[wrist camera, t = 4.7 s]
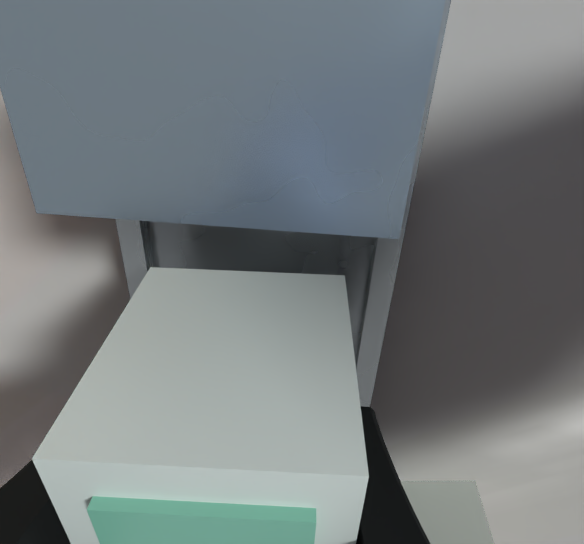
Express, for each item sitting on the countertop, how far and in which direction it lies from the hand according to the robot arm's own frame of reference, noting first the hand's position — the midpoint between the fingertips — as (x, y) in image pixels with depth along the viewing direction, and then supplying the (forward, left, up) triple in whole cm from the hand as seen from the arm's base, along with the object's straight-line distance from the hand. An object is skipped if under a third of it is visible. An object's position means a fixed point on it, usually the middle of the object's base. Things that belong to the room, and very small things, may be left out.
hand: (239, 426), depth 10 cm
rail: (0, 0, -4) cm, 4 cm away
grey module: (0, 0, -2) cm, 2 cm away
